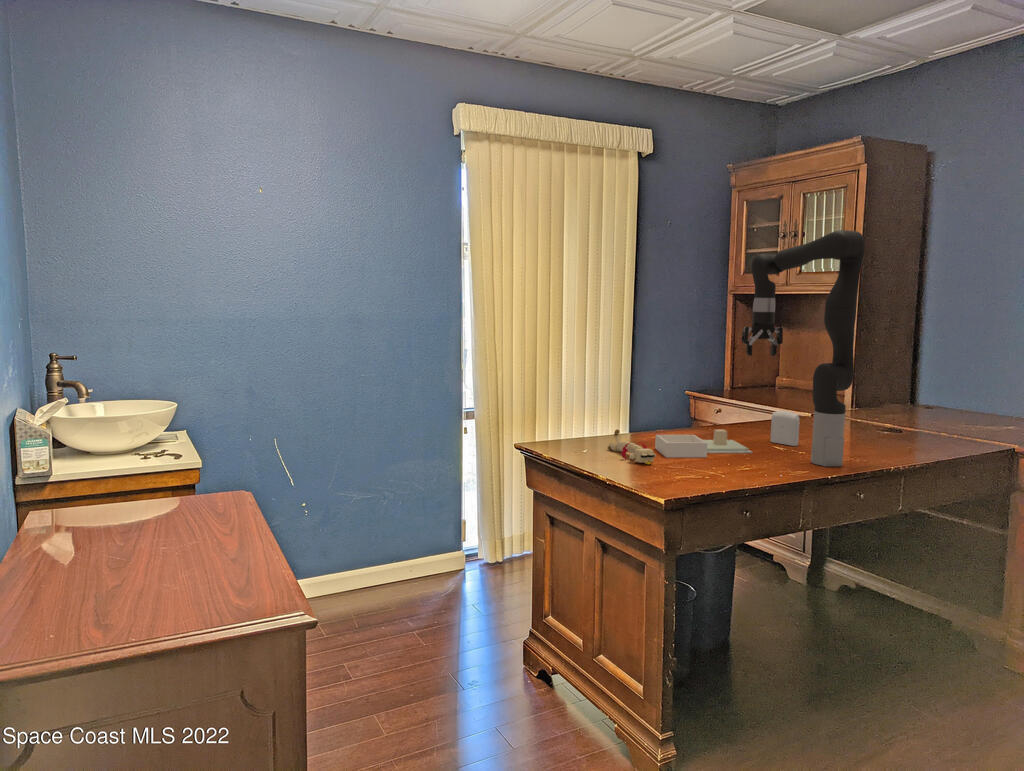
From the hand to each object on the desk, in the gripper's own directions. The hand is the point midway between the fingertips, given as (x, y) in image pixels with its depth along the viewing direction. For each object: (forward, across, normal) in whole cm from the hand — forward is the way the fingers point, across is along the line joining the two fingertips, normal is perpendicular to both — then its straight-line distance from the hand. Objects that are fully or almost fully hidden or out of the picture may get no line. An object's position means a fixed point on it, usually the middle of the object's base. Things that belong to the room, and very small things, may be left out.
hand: (761, 355), depth 256 cm
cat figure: (+34, -51, -19) cm, 64 cm away
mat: (+33, -15, -4) cm, 37 cm away
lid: (+33, -15, -4) cm, 36 cm away
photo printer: (+33, +12, +3) cm, 36 cm away
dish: (+33, -32, -12) cm, 48 cm away
